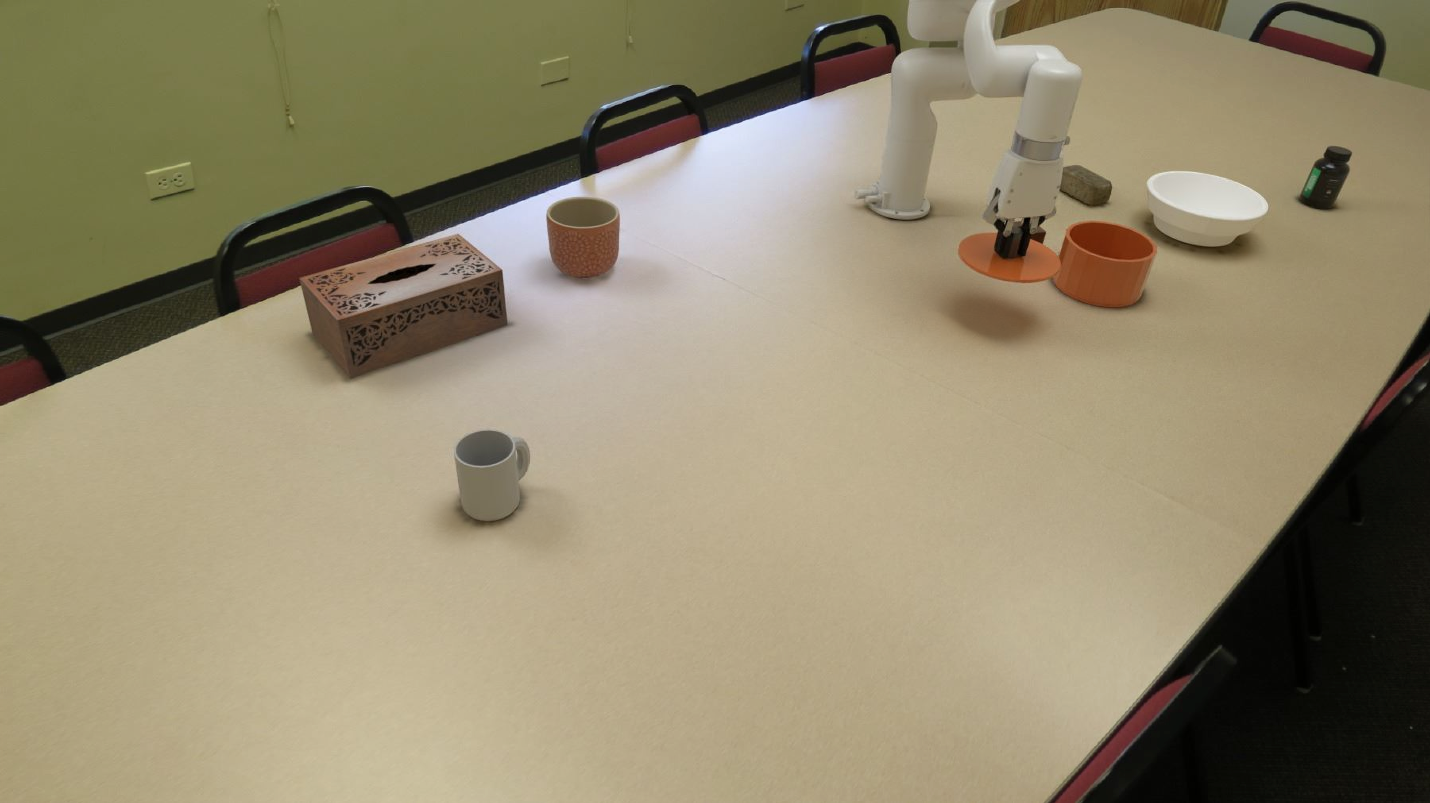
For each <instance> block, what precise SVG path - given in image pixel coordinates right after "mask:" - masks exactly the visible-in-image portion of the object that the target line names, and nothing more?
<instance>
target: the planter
mask: <svg viewBox="0 0 1430 803" xmlns="http://www.w3.org/2000/svg"><path fill="white" fill-rule="evenodd" d="M545 214H546V216H545V218H546V229H547V230H546V231H547V238H548V239H547V240H548V249H549V254H550V259H551V261H552V263H553V265H554V266H555V268H557V269H558V270H559V271H560V272H562V273H563V274H565V275H567V276H569V277H572V278H577V279H593V278H594V279H595V278H597V277H600V276H602V275H605V274H606V273H607V272H609V271H610V270H611V269H612V268H613V267H615V264H616V263H617V260H618V256H619V250H620V233H621V232H620V230H621V229H620V228H621V215H620V214H621V213H620V210H619V208H618V207H617V205H616V204H614V203H613V202H611V201H609V200H607V199H603V198H599V197H594V196H572V197H567V198H563V199H559V200H556V201H555V202H553V203H552V204H550V205H549V206H548V207H547V209H546V213H545Z"/></svg>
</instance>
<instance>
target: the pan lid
mask: <svg viewBox="0 0 1430 803" xmlns="http://www.w3.org/2000/svg"><path fill="white" fill-rule="evenodd" d="M997 233H998V232H980V233H975V234H972V235H969V236H967V237H965V238H963V239H962V240H961V241H960V243H959V244H958V248H957V254H958V257H959V259H960V260H961V262H962V263H963V264H965V265H966V267H968V268H970V269H971V270H973V271H975V272H977V273H978V274H980V275H983V276H986V277H988V278H991V279H995V280H999V281H1003V282H1008V283H1019V284H1032V283H1033V284H1035V283H1042V282H1045V281H1048V280H1050V279H1053V277H1054V276H1055V275H1056V274H1057V273H1058V272H1059V269H1060V266H1061V263H1060V259H1059V257H1058V255H1057V253H1056V252H1054V250H1052V249H1051V248H1050V247H1048V246H1047V245H1045V244H1044V243H1043V244H1041V243H1039V242H1037V241H1034V240H1032V239H1030V242H1029V246H1028V248H1027V252H1026V255H1025V256H1023V257H1021V256H1020V255H1019V254H1018V252H1019V248H1020V245H1021V241H1022V237H1023V233H1024V230H1023V229H1021V228H1019V227H1012V230H1011V233H1010V235H1011V236H1012V242H1011V246H1010V250H1009V254H1008V257H1007V258H1004V259H1003V258H1002V257H1000V256H999V255H998V254H997V253H996V252H995V251H994V245H995V241H996V237H997Z"/></svg>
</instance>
